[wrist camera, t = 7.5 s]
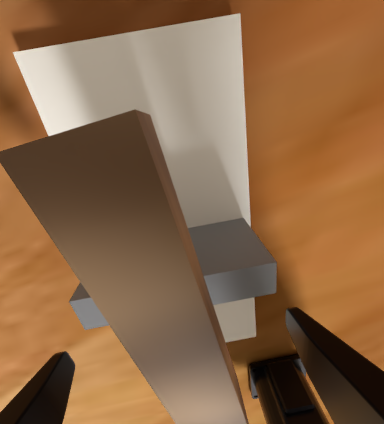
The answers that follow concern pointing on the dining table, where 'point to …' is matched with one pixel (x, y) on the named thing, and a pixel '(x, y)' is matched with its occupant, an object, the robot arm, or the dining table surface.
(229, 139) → the balance stand
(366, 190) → the dining table surface
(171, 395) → the walnut bar
